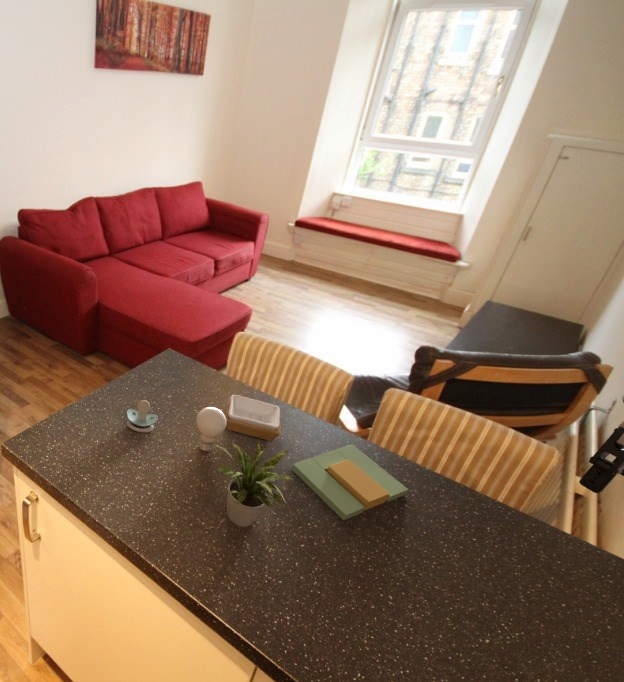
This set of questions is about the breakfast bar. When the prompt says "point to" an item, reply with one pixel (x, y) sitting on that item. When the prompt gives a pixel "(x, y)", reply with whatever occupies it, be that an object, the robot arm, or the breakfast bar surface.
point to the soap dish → (252, 417)
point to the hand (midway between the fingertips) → (604, 479)
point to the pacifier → (141, 417)
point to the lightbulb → (210, 426)
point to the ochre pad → (358, 483)
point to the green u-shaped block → (332, 491)
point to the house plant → (251, 486)
